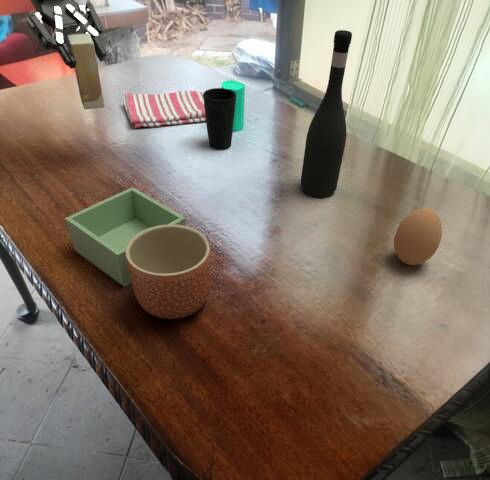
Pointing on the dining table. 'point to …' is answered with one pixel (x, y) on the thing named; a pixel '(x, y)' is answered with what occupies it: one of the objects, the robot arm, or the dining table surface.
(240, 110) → the candle
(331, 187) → the wine bottle
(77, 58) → the cosmetic box
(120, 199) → the green open box
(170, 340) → the dining table surface
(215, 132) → the cup
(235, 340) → the dining table surface
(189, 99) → the dish towel
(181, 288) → the planter
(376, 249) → the dining table surface
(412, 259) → the egg
